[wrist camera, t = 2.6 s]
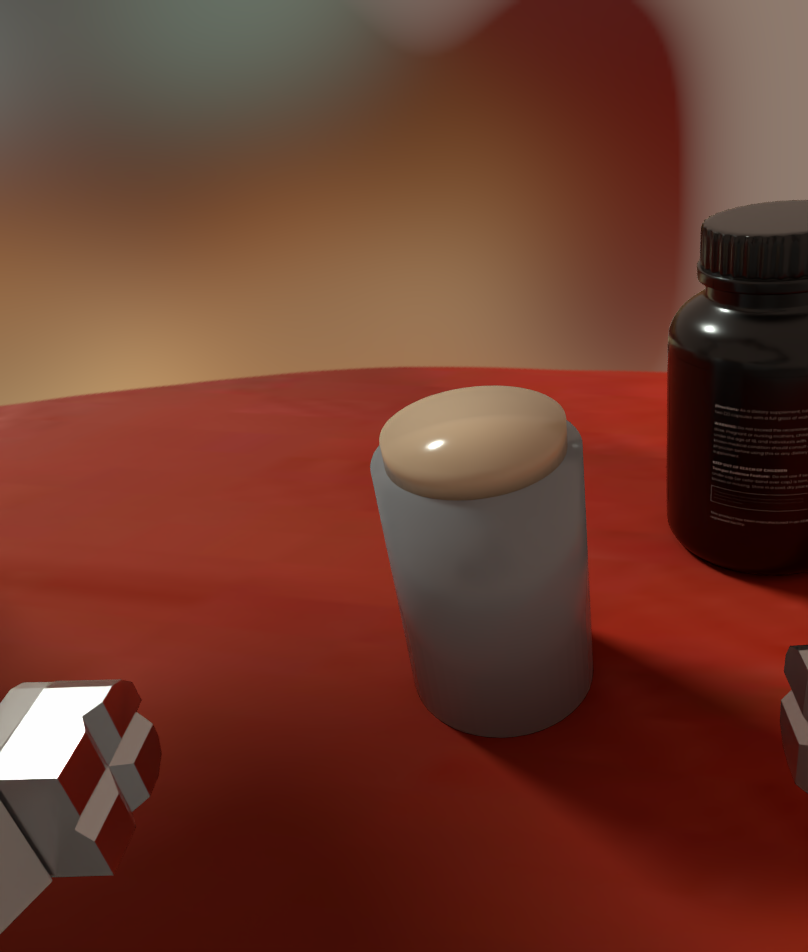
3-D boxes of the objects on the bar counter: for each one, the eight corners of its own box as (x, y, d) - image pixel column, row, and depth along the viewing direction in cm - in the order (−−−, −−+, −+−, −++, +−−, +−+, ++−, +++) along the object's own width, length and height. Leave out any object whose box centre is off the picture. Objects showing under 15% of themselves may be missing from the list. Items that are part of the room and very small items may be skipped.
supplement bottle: (896, 526, 29) (960, 197, 23) (780, 608, 26) (819, 259, 20) (738, 465, 34) (757, 184, 28) (628, 527, 32) (624, 232, 26)
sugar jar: (405, 739, 24) (348, 491, 19) (422, 611, 29) (380, 391, 24) (603, 735, 23) (592, 471, 18) (584, 603, 28) (571, 371, 23)
